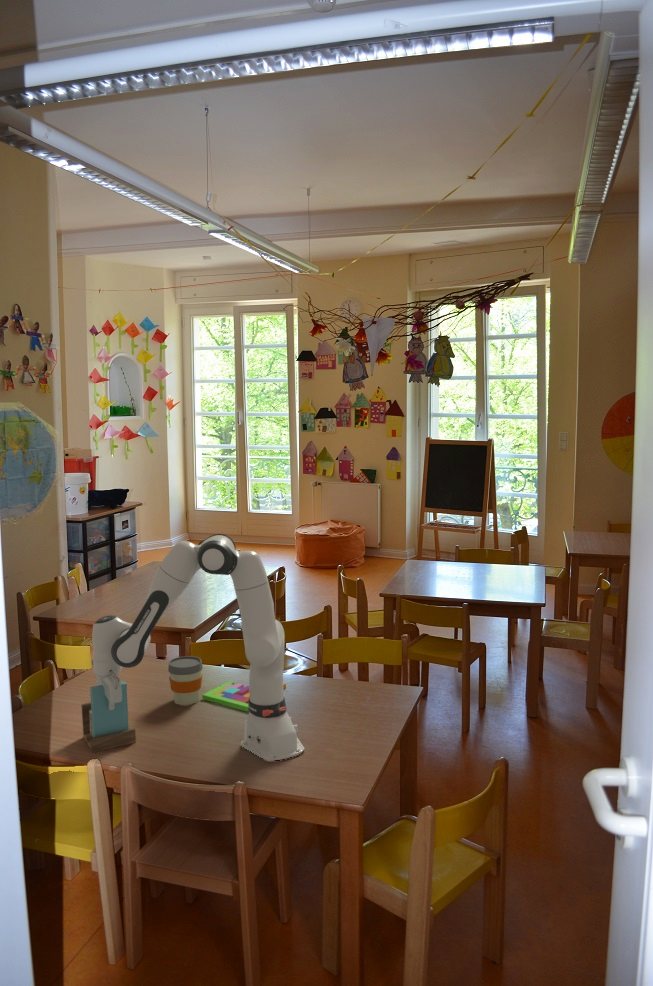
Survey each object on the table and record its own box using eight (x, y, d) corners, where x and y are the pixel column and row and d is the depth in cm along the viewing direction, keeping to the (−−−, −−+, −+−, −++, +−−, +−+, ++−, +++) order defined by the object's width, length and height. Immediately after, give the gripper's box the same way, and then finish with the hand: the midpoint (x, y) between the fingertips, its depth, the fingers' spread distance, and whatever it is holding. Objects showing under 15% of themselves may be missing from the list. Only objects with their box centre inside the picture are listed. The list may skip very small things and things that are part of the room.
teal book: (128, 730, 253) (126, 683, 251) (94, 737, 248) (92, 690, 246) (126, 726, 256) (124, 680, 254) (92, 734, 251) (90, 687, 249)
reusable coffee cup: (184, 691, 295) (183, 653, 293) (210, 697, 289) (209, 659, 287) (162, 703, 285) (160, 664, 283) (188, 709, 278) (187, 670, 276)
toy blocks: (250, 713, 276) (290, 690, 297) (250, 707, 276) (290, 684, 296) (202, 700, 288) (244, 679, 309) (202, 694, 288) (244, 673, 309)
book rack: (135, 742, 253) (134, 709, 252) (92, 752, 246) (90, 718, 245) (125, 727, 264) (123, 695, 263) (83, 736, 257) (81, 704, 256)
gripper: (126, 674, 242) (127, 716, 244) (109, 654, 259) (111, 694, 261) (105, 678, 239) (107, 720, 240) (90, 658, 256) (92, 698, 258)
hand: (109, 706), depth 251 cm, fingers closed on teal book, 3 cm apart
